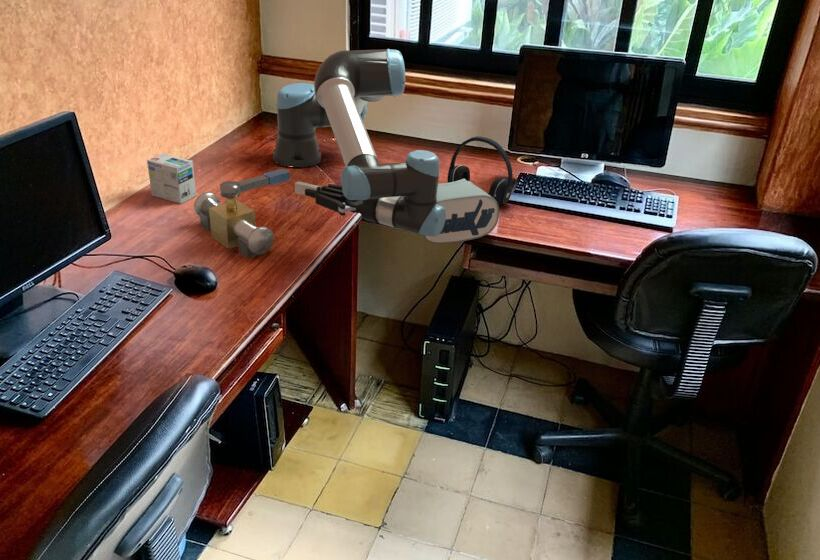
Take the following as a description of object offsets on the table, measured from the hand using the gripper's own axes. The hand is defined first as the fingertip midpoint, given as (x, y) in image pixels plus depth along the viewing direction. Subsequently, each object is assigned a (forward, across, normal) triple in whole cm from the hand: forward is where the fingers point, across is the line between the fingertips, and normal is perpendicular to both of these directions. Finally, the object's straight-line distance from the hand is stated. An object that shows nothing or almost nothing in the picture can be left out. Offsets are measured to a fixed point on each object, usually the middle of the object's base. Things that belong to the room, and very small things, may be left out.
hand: (296, 187), depth 183 cm
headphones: (-33, +48, -14) cm, 59 cm away
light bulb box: (+42, +3, -14) cm, 44 cm away
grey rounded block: (-32, +23, -14) cm, 42 cm away
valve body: (+13, -10, -13) cm, 21 cm away
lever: (+10, -3, -1) cm, 11 cm away
